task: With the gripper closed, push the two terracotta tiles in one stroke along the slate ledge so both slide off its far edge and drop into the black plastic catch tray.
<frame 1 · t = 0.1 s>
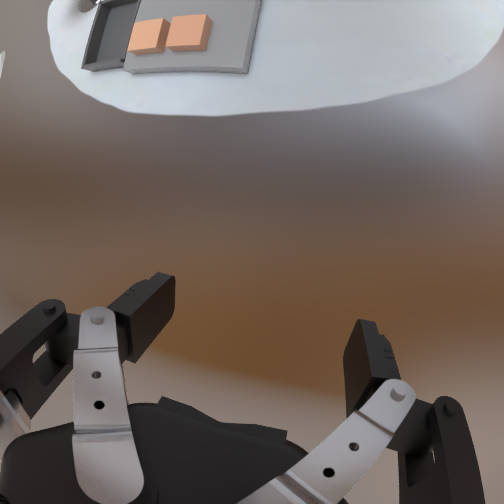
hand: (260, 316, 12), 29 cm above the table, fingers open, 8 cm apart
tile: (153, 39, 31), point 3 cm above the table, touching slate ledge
catch tray: (120, 33, 34), on the table
slate ledge: (194, 26, 32), on the table
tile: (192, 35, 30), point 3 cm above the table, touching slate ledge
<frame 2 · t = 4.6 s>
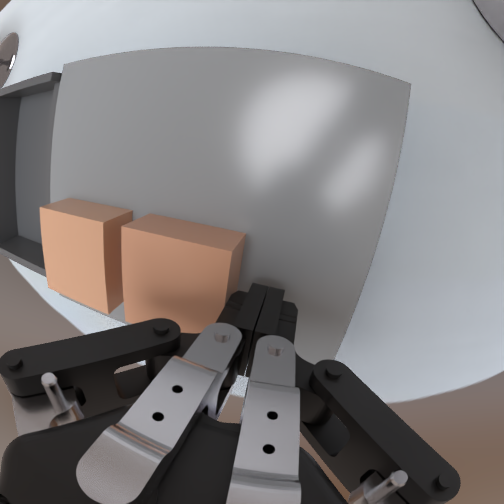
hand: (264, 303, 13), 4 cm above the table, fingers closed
wine glass: (2, 62, 15), on the table
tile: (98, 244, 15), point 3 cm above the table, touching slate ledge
catch tray: (41, 168, 18), on the table
slate ledge: (198, 198, 16), on the table
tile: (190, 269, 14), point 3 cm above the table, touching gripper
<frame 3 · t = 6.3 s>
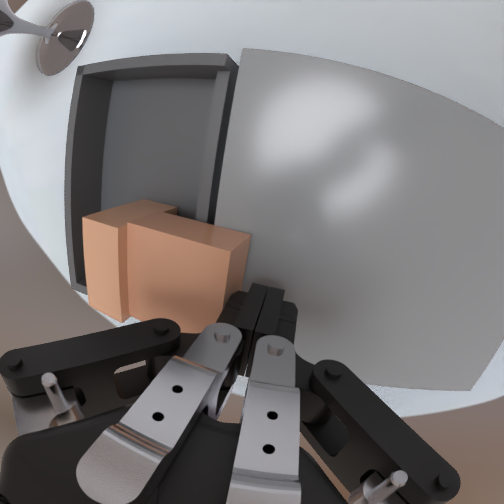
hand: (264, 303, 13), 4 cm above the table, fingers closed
wine glass: (63, 36, 14), on the table
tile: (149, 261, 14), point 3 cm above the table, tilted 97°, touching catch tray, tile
catch tray: (154, 182, 16), on the table
slate ledge: (395, 241, 15), on the table
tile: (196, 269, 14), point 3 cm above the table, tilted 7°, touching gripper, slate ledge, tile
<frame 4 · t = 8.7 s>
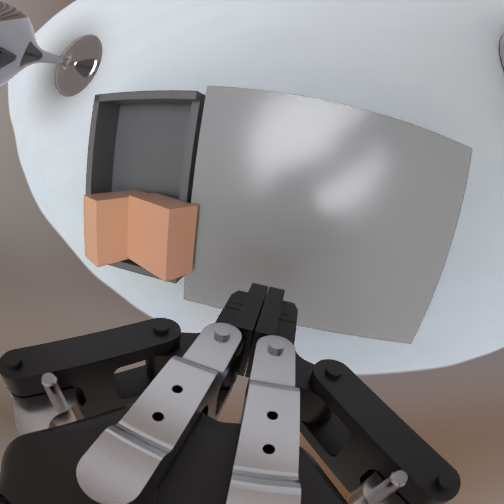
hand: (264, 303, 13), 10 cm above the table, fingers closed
wine glass: (77, 65, 20), on the table
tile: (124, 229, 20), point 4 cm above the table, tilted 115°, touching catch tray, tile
catch tray: (151, 179, 23), on the table
slate ledge: (325, 215, 21), on the table
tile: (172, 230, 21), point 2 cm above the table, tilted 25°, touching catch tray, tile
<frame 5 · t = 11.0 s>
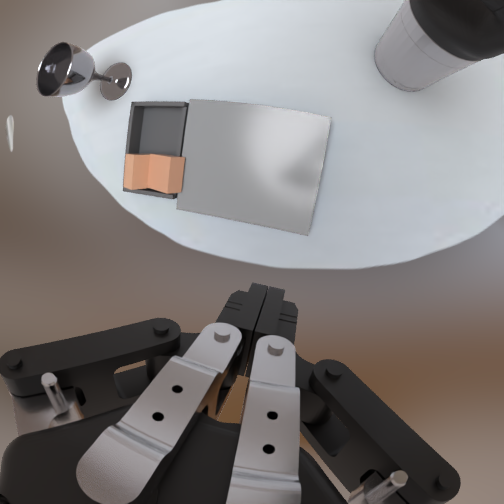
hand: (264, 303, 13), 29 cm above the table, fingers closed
wine glass: (116, 81, 38), on the table
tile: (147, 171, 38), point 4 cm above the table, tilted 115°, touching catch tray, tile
catch tray: (161, 147, 41), on the table
slate ledge: (252, 162, 39), on the table
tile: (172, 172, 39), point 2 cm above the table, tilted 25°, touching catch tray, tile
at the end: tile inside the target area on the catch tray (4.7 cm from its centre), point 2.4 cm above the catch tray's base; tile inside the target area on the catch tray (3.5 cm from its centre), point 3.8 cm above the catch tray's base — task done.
